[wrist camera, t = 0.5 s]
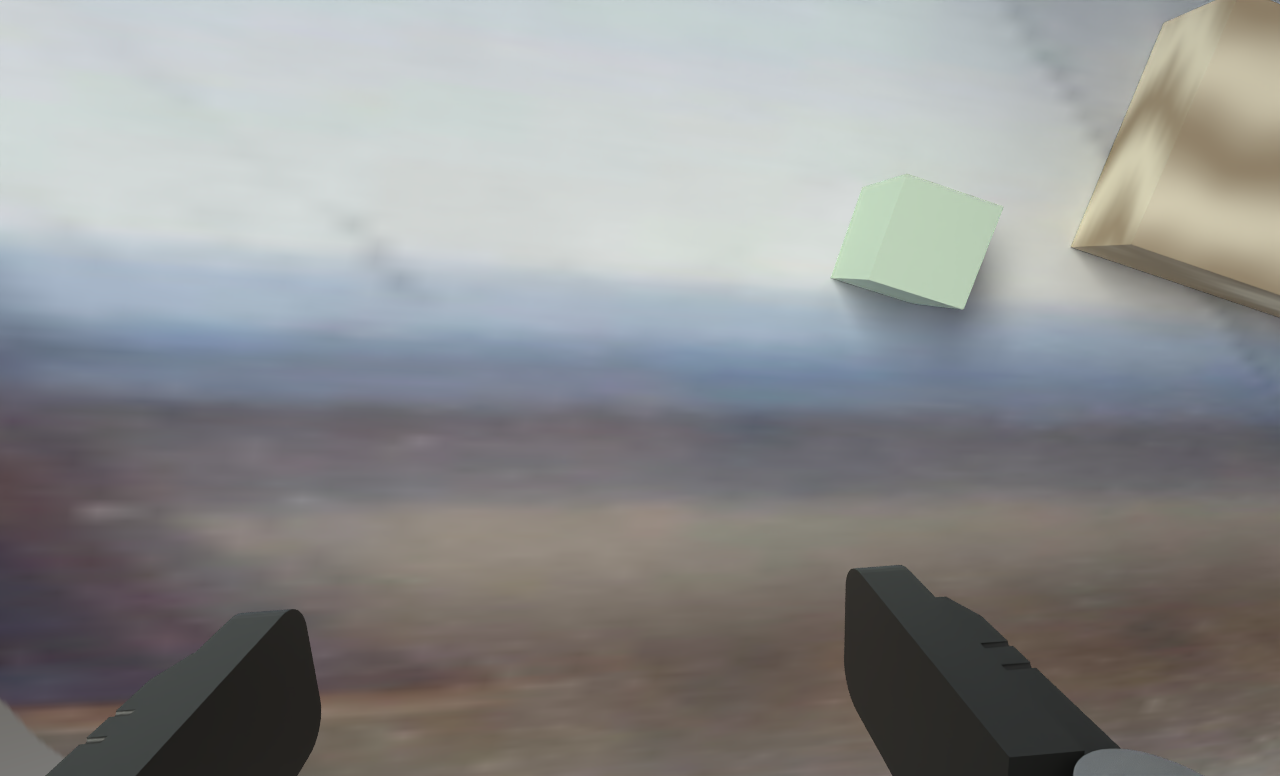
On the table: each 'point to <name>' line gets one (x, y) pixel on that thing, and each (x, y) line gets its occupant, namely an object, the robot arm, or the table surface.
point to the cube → (916, 241)
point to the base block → (1200, 159)
